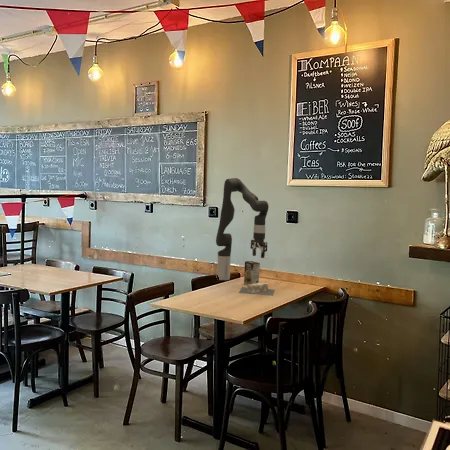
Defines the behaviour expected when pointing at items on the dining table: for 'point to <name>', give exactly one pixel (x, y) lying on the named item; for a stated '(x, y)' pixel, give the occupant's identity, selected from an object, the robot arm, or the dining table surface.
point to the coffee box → (251, 272)
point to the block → (257, 287)
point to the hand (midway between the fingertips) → (258, 256)
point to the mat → (269, 292)
